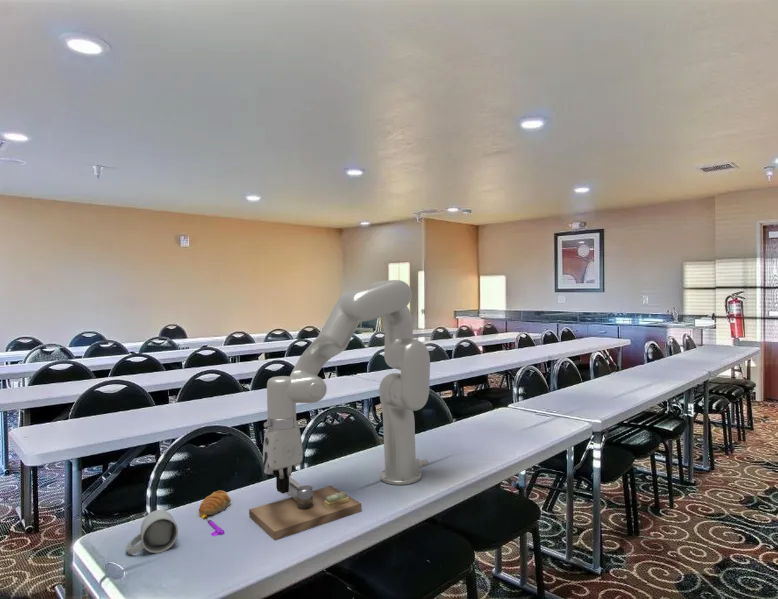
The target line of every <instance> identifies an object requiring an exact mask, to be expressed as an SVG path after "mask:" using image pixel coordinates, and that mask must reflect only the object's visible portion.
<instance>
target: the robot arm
mask: <svg viewBox="0 0 778 599" xmlns="http://www.w3.org/2000/svg"><path fill="white" fill-rule="evenodd" d="M412 294H413V292H412V289H411V287H410V285H409V284H408V283H406V282H405V281H404V280H400V279H391V280H390V279H389V280H388V279H387V280H380V281H375V282H373V283H371V285H370V286H369V287H368V289H364V290H352V291H350V290H349V291H346V292H344V293H342V294H341V295H340V297H339V298H338V299H337V301H336V302H335V305H334V306H333V308H332V310H331V312H330V313H329V316H328V318H327V319H326V321H325V323H324V325H323V327H322V329H321V330H320V333H319V334H318V335H317V337H316V338H315V339H314V340H313V341H312V342H311V343H310V344H309V346H307V348H306V349H305V350H304V351H303V353H302V354H301V355H300V357H299V358H298V359H297V362H296V364H295V366H294V368H293V369H292V371H291V373H290V375H288V376H287V375H281V376H280V375H279V376H272V377H271V378H269V379H268V380H267V383H266V399H267V401H266V406H267V407H266V408H267V409H266V410H267V412H266V413H267V418H266V421H265V422H264V423H263V427H264V428H265V432H264V437H263V439H264V440H263V446H262V465H263V466H264V470H263V472H264V474H266V475H273V476H274V477H275V478H276V479H275V480H276V483H275V485H276V491H277V492H279V493H280V494H286V493H285V492H289V477H291V476H292V472H293V470H294V469H295V468H297V467H298V466H300V465H301V463H302V461H303V456H304V455H303V454H304V453H303V452H304V451H303V443H302V442H303V441H302V440H303V439H302V435H301V429H300V427H299V425H297V404H315V403H317V402H320V401H321V400H323V399H324V397H325V396H326V395H327V390H328V388H327V384H326V381H325V380H323V378H322V377H320V376H318V374H319V373H320V371H321V369H322V368H323V367H324V365H325V364H326V363H327V362H329V361H330V360H331V359H332V358H334V357H337V356H338V355H339V354H341V353H342V352H344V351H345V350H346V349H347V348H348V345H349V344H350V341H351V339H352V337H353V335H354V333H355V332H356V331H357V328H358V326H359V324H360V323H361V322H369V321H373V320H376V319H379V318H383V322H384V350H383V355H384V356H383V357H384V361H385V363H386V365H387V366H388V367H390V368H393V369H396V370H399V371H400V373H398V372H393V373H389V374H387V375H385V376H384V377H383V378H382V379H381V381H380V383H379V387H378V388H379V389H378V394H379V400H380V405H381V412H382V426H383V429H382V430H383V449H384V450H383V452H384V453H383V454H384V455H383V456H384V457H383V458H384V470H382V471H381V472H380V473H379V478H380V481H382V483H383V482H384V483H386V484H390V485H394V486H395V485H399V486H401V485H409V484H410V485H411V484H414V483H417V482H418V481H420V480H421V478H422V476H423V475H422V472H421V470H420V469H421V468H423V467H426V466H427V467H428V466H429V461H428V459H427V458H424V459H422V460H420V459H419V458H417V455H416V454H417V453H416V452H417V451H416V433H415V432H416V431H415V428H416V427H415V425H416V424H415V415H414V411H415V412H416V411H419V410H421V409H422V408H424V406H425V405H426V404H427V402H428V400H429V396H430V395H429V394H430V385H431V384H430V380H431V379H430V376H431V375H430V374H431V356H430V353H429V349H428V348H427V346H426V344H425V343H423V342H422V341H420V340H418V339H414V331H413V330H414V329H413V328H414V326H413V316H412V313H411V311H410V309H409V306H408V305H409V304H410V302H411V300H412V298H413V296H412ZM266 428H267V429H266ZM416 458H417V459H416Z"/></svg>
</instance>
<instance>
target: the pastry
mask: <svg viewBox="0 0 778 599" xmlns="http://www.w3.org/2000/svg"><path fill="white" fill-rule="evenodd" d="M231 502H232V499H231V497H230V496H229V495H228V493H227V492H226V491H224V490H220V489H219V490H217V491H213V492H212V493H211V494H209V495H207V496H206V497H204V499H203V500H202V502H201V503H200V506H199V508H198V512H199V513H200V515H206V516H213V515H216V514H218V513H220V512H222V511H224V510H225V509H226V508H228V507H229V506H230V504H231ZM199 513H198V514H199ZM200 515H199V516H200Z"/></svg>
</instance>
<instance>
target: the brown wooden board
mask: <svg viewBox="0 0 778 599" xmlns="http://www.w3.org/2000/svg"><path fill="white" fill-rule="evenodd" d="M248 512H249V514H248V515H249V518H250V519H251V520H252V521H253V522H254V523H255V524H257V526H258V527H260V528H261V529H262V530H263V531H264V532H265V533H266V534H268V535H269V537H270V538H272V539H273V540H274V541H277V540H279V539H283V538H286V537H288V536H291V535H294V534H297V533H300V532H304V531H306V530H310V529H312V528H315V527H317V526H321V525H324V524H327V523H330V522H333V521H335V520H339V519H341V518H345V517H348V516H350V515H351V516H352V515H354V514H357V513H359V512H360V513H361V512H362V502H360V501H358V500H356V499H354V498H352V497H351V496H349V495H348V494H347V492H346V491H341V490H339V489H337V488H336V487H333V486H332V485H329V486H326V487H321V488H318V489H315V490H314V489H313V506H312V507H310V508H304V509H303V508H299V507H298V506H297V501H295V500H294V499H293V498H291V497H290V496H289V497H286V498H283V499H279V500H277V501H273V502H270V503H266V504H263V505H259V506H256V507H253V508H249V509H248Z"/></svg>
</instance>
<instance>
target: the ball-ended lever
mask: <svg viewBox="0 0 778 599" xmlns="http://www.w3.org/2000/svg"><path fill="white" fill-rule="evenodd" d="M313 488H314V487H313V486H312V485H306V484H305V485H303V484H301V483H299V482H298V481H296V480H295V479H293V477H291V476H290V477H289V492H285V493H284V494H286V495H287V496H288V497H289V498H290V497H291V498H293V499H294V500H295V501H297V506H298V507H299V508H303V509H304V508H310V507H312V506H313V491H314V489H313Z"/></svg>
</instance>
